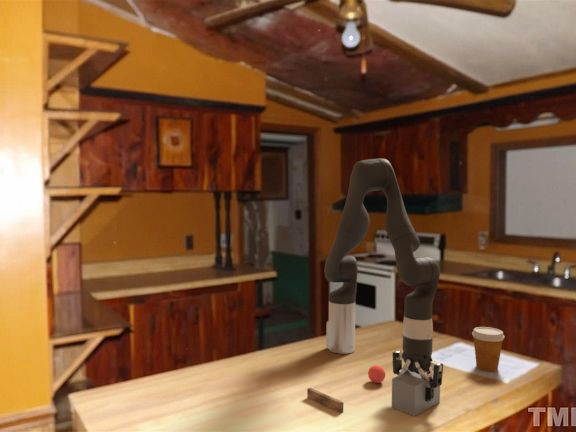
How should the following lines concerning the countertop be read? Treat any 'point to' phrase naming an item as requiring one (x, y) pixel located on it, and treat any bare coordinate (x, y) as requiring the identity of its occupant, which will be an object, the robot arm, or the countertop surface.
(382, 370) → the ball
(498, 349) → the disposable coffee cup
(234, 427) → the countertop surface
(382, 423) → the countertop surface
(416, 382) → the grey rectangular block
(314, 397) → the stopper
